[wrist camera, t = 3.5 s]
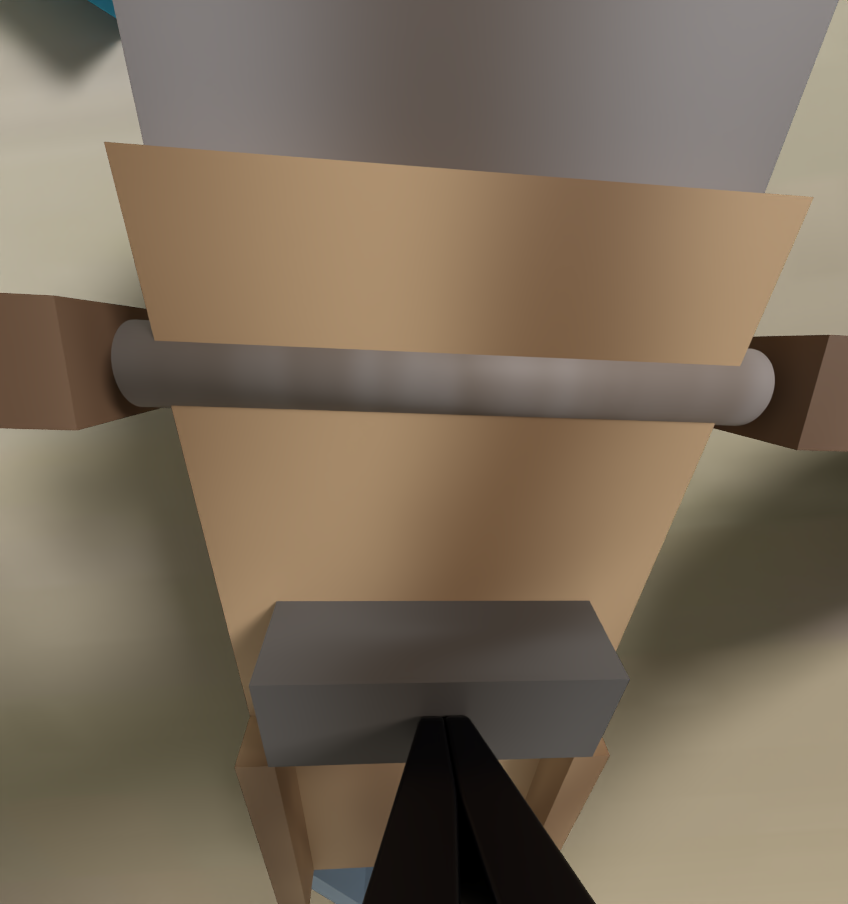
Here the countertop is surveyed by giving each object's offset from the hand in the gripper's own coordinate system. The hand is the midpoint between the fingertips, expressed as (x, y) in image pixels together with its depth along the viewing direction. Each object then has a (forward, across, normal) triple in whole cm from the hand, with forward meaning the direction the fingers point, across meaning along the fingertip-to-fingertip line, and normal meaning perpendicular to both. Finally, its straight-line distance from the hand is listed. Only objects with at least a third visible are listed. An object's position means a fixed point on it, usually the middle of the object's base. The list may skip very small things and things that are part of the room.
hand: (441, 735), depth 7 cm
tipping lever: (+7, 0, -2) cm, 7 cm away
